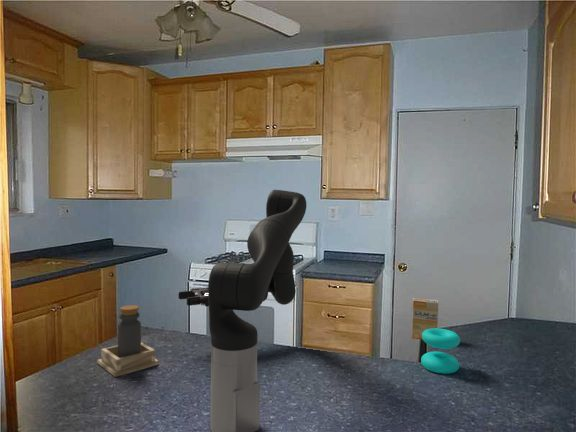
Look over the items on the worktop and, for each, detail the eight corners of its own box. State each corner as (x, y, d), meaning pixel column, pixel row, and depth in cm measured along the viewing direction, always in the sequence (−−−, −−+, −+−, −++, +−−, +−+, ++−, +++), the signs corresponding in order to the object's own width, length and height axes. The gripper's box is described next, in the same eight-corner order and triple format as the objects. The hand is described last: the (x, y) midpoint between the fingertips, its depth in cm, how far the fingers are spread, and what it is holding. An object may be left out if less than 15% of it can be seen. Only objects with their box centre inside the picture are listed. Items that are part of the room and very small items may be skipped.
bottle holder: (158, 364, 115) (158, 350, 115) (115, 377, 107) (115, 361, 107) (139, 352, 124) (139, 339, 124) (97, 363, 115) (97, 348, 115)
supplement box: (411, 339, 140) (412, 300, 139) (411, 334, 144) (412, 297, 144) (437, 341, 137) (438, 302, 137) (436, 337, 142) (437, 299, 141)
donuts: (414, 329, 118) (439, 325, 123) (413, 364, 118) (438, 358, 123) (442, 340, 109) (468, 335, 114) (440, 378, 110) (467, 371, 114)
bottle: (117, 359, 116) (117, 305, 115) (139, 356, 118) (139, 303, 118) (118, 367, 111) (118, 311, 110) (141, 363, 113) (141, 308, 112)
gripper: (226, 277, 135) (176, 281, 127) (244, 285, 123) (190, 290, 115) (226, 300, 135) (175, 306, 127) (244, 310, 123) (189, 317, 115)
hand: (182, 298), depth 121 cm, fingers open, 8 cm apart
